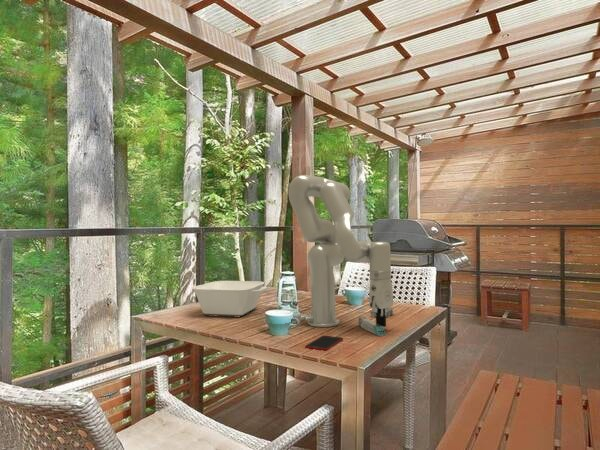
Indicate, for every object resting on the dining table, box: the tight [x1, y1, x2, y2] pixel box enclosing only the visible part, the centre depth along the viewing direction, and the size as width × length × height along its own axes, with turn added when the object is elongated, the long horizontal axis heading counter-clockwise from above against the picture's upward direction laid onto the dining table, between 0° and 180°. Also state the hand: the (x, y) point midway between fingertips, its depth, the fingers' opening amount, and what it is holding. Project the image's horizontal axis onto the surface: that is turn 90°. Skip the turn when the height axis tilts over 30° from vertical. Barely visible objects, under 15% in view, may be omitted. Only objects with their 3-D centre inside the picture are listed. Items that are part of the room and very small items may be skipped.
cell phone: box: [304, 335, 344, 352], centre depth 139 cm, size 8×15×1 cm, turn 152°
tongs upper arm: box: [362, 318, 385, 331], centre depth 153 cm, size 13×3×2 cm, turn 17°
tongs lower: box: [358, 316, 386, 337], centre depth 155 cm, size 16×3×3 cm, turn 19°
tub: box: [192, 280, 268, 317], centre depth 191 cm, size 34×27×13 cm
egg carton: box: [369, 307, 395, 319], centre depth 179 cm, size 11×8×4 cm
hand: (381, 326), depth 152 cm, fingers closed
